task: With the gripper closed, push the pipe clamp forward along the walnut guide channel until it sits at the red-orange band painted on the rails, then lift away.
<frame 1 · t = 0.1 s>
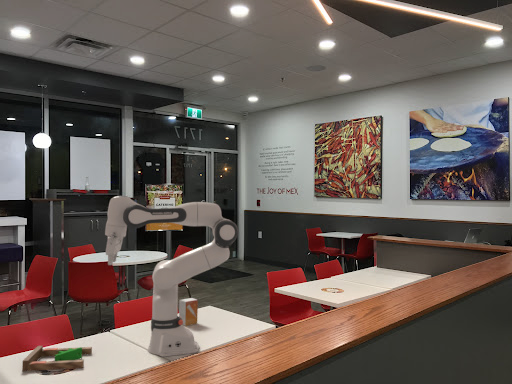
hand: (111, 263, 183), 39 cm above the table, tool pointing down, fingers open, 8 cm apart
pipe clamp: (67, 362, 171), on the table
guide channel: (60, 361, 171), on the table
small box: (188, 324, 226), on the table
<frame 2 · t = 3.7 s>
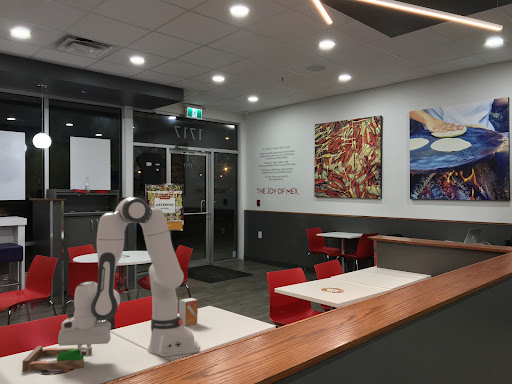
hand: (84, 354, 172), 2 cm above the table, tool pointing down, fingers closed
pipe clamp: (68, 362, 170), on the table, touching gripper
everything else where it was.
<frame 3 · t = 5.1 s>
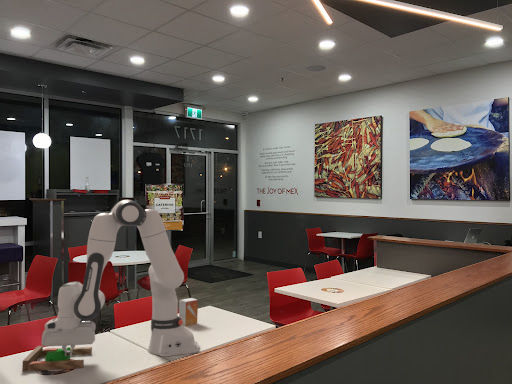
hand: (68, 355, 171), 2 cm above the table, tool pointing down, fingers closed
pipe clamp: (56, 362, 170), on the table, touching gripper
everything else where it was.
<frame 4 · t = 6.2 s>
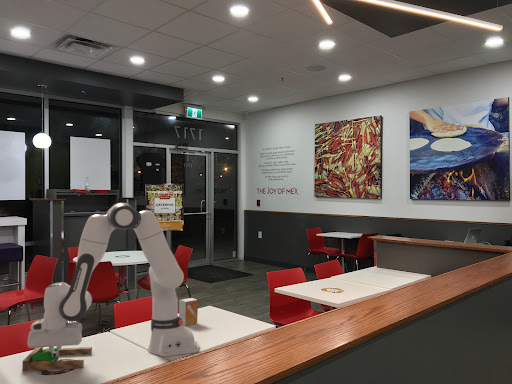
hand: (55, 356, 170), 2 cm above the table, tool pointing down, fingers closed
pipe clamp: (43, 363, 169), on the table, touching gripper, guide channel
everything else where it was.
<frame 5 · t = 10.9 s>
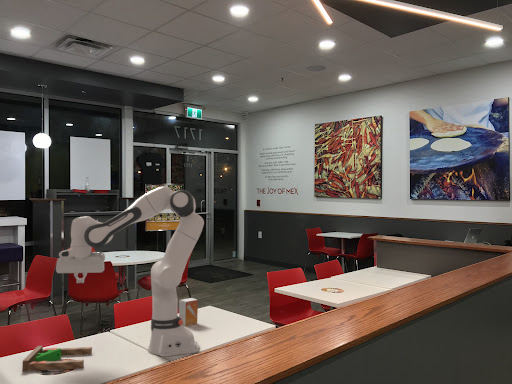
hand: (80, 282, 188), 29 cm above the table, tool pointing down, fingers closed
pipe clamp: (46, 363, 169), on the table
everything else where it was.
at the end: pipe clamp inside the target area (1.4 cm from its centre), on the table; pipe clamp moved 7.6 cm from its start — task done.
